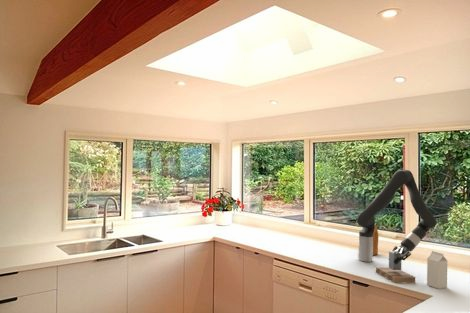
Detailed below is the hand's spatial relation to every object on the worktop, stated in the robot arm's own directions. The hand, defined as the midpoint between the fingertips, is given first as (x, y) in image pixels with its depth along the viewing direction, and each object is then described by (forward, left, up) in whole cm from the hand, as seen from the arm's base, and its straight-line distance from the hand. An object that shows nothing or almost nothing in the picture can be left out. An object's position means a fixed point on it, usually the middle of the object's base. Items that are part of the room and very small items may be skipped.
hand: (392, 261), depth 214 cm
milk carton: (+17, +17, -9) cm, 26 cm away
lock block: (0, +2, -4) cm, 5 cm away
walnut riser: (0, +2, -9) cm, 9 cm away
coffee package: (-56, +16, -9) cm, 59 cm away
